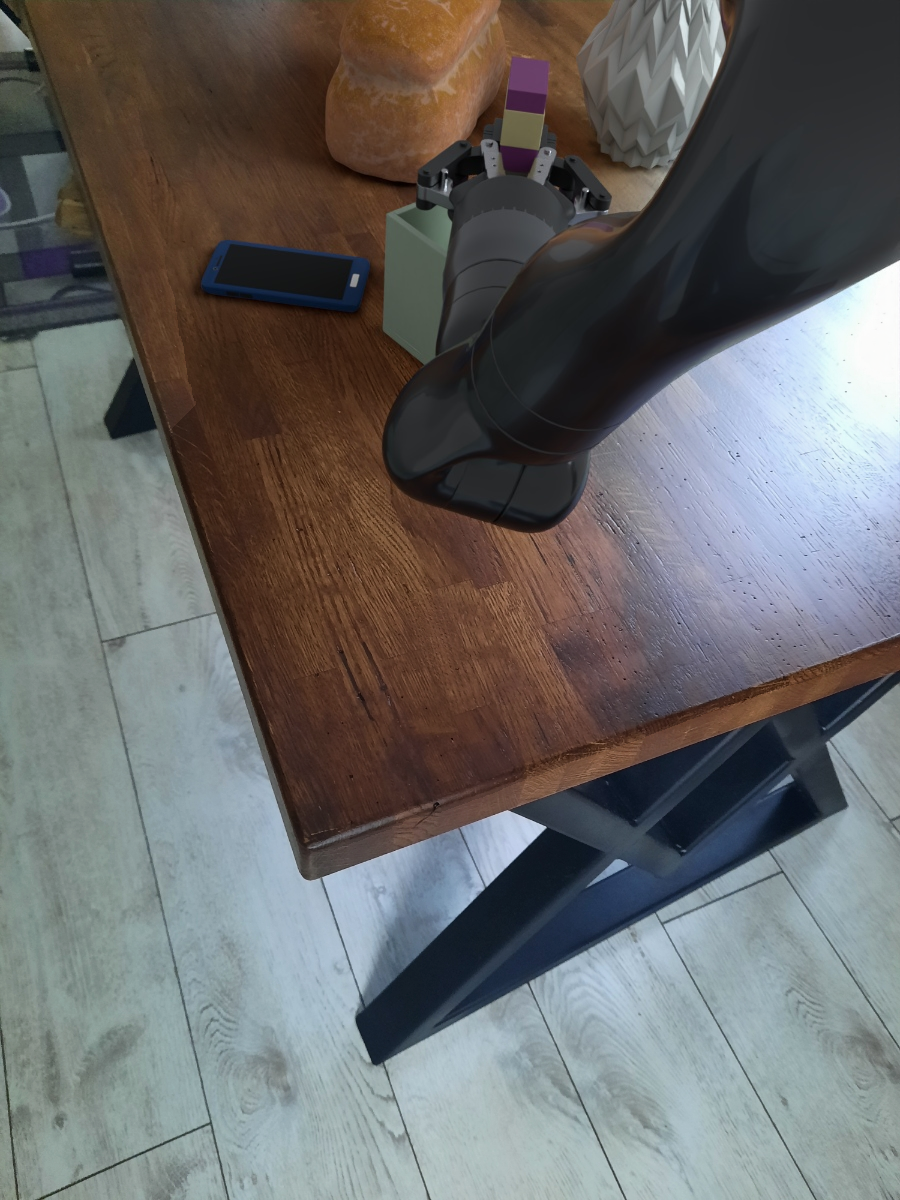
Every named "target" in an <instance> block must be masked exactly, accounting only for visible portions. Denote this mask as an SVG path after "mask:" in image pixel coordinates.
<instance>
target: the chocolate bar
mask: <svg viewBox="0 0 900 1200" xmlns="http://www.w3.org/2000/svg"><path fill="white" fill-rule="evenodd" d="M549 74H550V61H548V60H542V59H534V58H528V57H520V56H511V61H510V68H509V76H508V79H507V86H506V94H505V95H506V96H505V101H504V110H503V118H502V119H503V124H502V132H501V140H500V152H501V155H502V162H503V168H504V169H506V170H510V171H513V172H530V170H531V168H532V165H533V162H534V159H535V157H537V154H538V150H539V147H540V141H541V134H542V128H543V125H544V123H545V115H546V106H547V105H546V104H547V99H548V89H549V76H550V75H549Z"/></svg>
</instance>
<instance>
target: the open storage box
mask: <svg viewBox="0 0 900 1200" xmlns="http://www.w3.org/2000/svg"><path fill="white" fill-rule="evenodd" d="M447 210H448V209H446V208H443V207H441V206H439V205H436V206H435V207H434V208H432V209H431V210H428V211H424V210H420V209H418V208H417V207H416V201H415V202H412V203H410V204H407V205H405V206H402V207H399V208H397V209H395V210H392V211H389V212H387V213H386V215H385V241H384V242H385V244H384V246H385V247H384V276H383V277H384V278H383V306H382V307H383V308H382V309H383V313H382V332H383V333H385V334H386V335H387V336H388V337H389V338H391V339H392V340H393V341H394V342H396V343H397V344H398V345H399V346H400V347H402V348H403V349H404V350H406V351H407V352H408V353H409V354H411V355H412V356H413V357H414V358H415V359H416V360H418V361H419V362H420V363H421V364H422V365H423V366H424V365H425V364H426V363H428V362H429V361H430V360H432V359H433V358H435V348H436V339H437V333H438V328H439V322H440V316H441V310H442V304H443V298H442V281H443V271H444V267H445V262H446V256H447V250H448V244H449V238H450V233H451V227H452V222H451V220H450V219H449V217H448V213H447Z"/></svg>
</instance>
